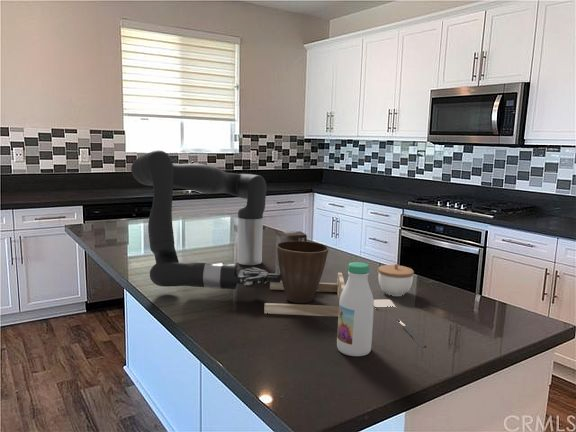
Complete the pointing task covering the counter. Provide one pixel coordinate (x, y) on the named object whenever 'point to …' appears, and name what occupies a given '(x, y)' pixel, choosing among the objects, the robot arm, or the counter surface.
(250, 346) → the counter surface
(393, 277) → the lidded jar
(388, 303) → the spatula
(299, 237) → the coffee box
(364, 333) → the milk bottle
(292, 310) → the wooden frame
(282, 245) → the plant pot
